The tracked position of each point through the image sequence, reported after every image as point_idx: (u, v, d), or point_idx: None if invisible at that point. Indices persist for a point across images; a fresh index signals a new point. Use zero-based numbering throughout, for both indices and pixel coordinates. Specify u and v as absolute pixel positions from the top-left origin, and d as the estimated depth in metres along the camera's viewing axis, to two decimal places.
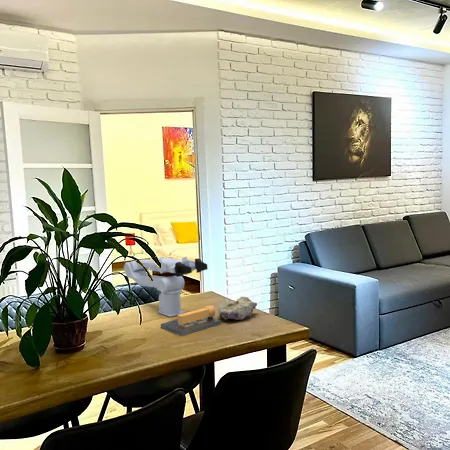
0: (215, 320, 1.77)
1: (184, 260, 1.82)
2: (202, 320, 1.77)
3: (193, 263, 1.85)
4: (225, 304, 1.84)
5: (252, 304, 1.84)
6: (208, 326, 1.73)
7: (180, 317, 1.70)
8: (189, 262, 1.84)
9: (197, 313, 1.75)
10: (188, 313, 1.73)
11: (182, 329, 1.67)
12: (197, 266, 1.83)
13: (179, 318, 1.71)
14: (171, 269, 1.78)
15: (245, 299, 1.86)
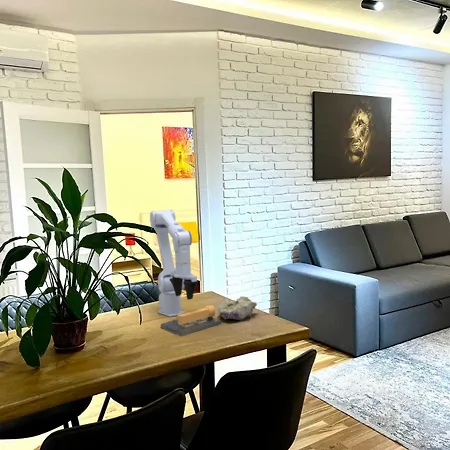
0: (215, 320, 1.77)
1: (176, 276, 1.75)
2: (202, 320, 1.77)
3: None
4: (225, 304, 1.84)
5: (252, 304, 1.84)
6: (208, 326, 1.73)
7: (180, 317, 1.70)
8: None
9: (197, 313, 1.75)
10: (188, 313, 1.73)
11: (182, 329, 1.67)
12: None
13: (179, 318, 1.71)
14: None
15: (245, 299, 1.86)
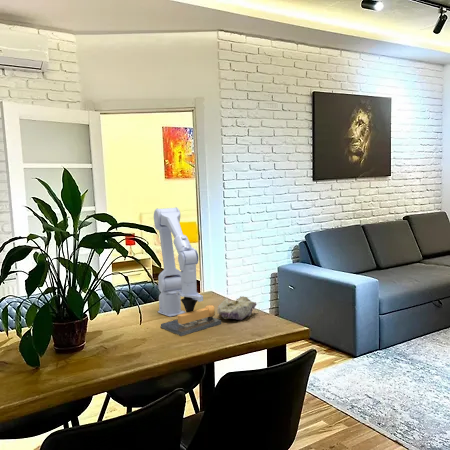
0: (215, 320, 1.77)
1: None
2: (202, 320, 1.77)
3: None
4: (225, 304, 1.84)
5: (251, 304, 1.84)
6: (208, 326, 1.73)
7: (180, 317, 1.70)
8: (188, 296, 1.73)
9: (197, 313, 1.75)
10: (188, 313, 1.73)
11: (182, 329, 1.67)
12: None
13: (179, 318, 1.71)
14: None
15: (244, 299, 1.86)
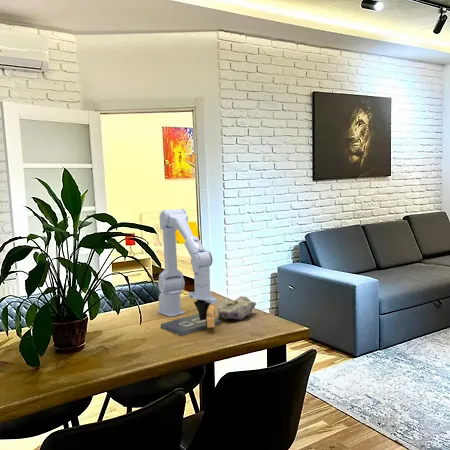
0: (215, 320, 1.77)
1: None
2: (202, 320, 1.77)
3: None
4: (224, 304, 1.84)
5: (251, 304, 1.85)
6: None
7: (212, 320, 1.66)
8: (202, 299, 1.69)
9: (213, 314, 1.73)
10: (210, 315, 1.70)
11: (182, 329, 1.67)
12: None
13: (210, 321, 1.66)
14: None
15: (244, 299, 1.86)
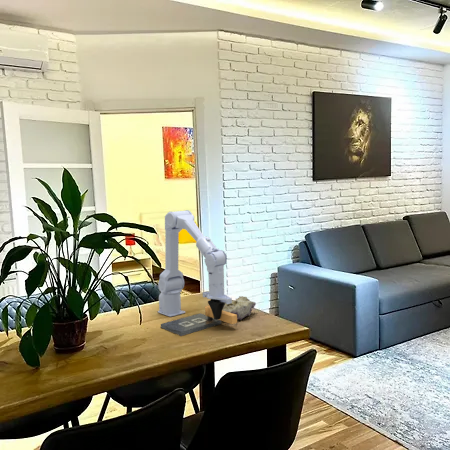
0: (215, 320, 1.77)
1: None
2: (202, 320, 1.77)
3: None
4: None
5: (251, 304, 1.85)
6: (208, 326, 1.73)
7: (235, 316, 1.70)
8: (216, 298, 1.69)
9: None
10: (227, 313, 1.72)
11: (182, 329, 1.67)
12: None
13: (234, 318, 1.69)
14: None
15: (244, 299, 1.86)
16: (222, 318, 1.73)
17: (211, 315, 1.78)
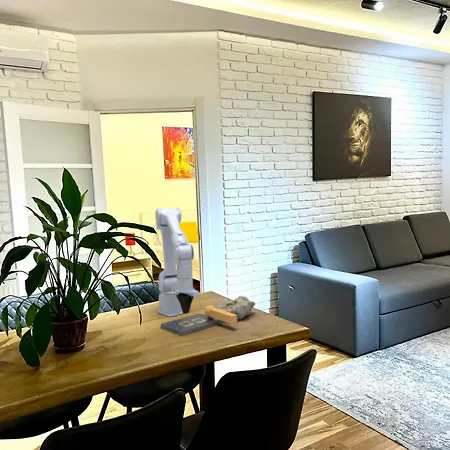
0: (215, 320, 1.77)
1: None
2: (202, 320, 1.77)
3: None
4: (224, 304, 1.84)
5: (250, 303, 1.85)
6: (208, 326, 1.73)
7: (235, 316, 1.70)
8: (184, 292, 1.69)
9: None
10: (227, 313, 1.72)
11: (182, 329, 1.67)
12: None
13: (234, 318, 1.69)
14: None
15: (243, 298, 1.87)
16: (222, 318, 1.73)
17: (211, 315, 1.78)
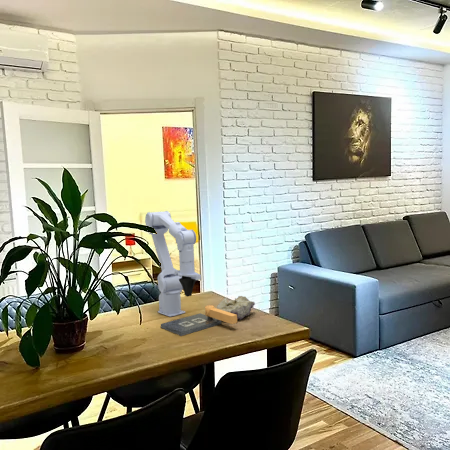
0: (215, 320, 1.77)
1: (181, 275, 1.78)
2: (202, 320, 1.77)
3: None
4: (224, 304, 1.84)
5: (250, 303, 1.85)
6: (208, 326, 1.73)
7: (235, 316, 1.70)
8: (187, 275, 1.77)
9: None
10: (227, 313, 1.72)
11: (182, 329, 1.67)
12: None
13: (234, 318, 1.69)
14: None
15: (243, 298, 1.87)
16: (222, 318, 1.73)
17: (211, 315, 1.78)
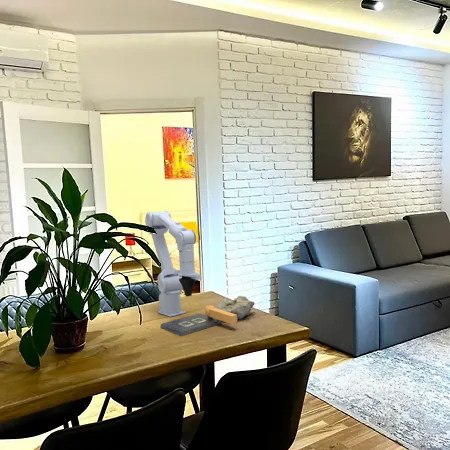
0: (215, 320, 1.77)
1: (181, 275, 1.78)
2: (202, 320, 1.77)
3: None
4: (223, 304, 1.84)
5: (250, 303, 1.85)
6: (208, 326, 1.73)
7: (235, 316, 1.70)
8: (187, 275, 1.77)
9: None
10: (227, 313, 1.72)
11: (182, 329, 1.67)
12: None
13: (234, 318, 1.69)
14: None
15: (243, 298, 1.87)
16: (222, 318, 1.73)
17: (211, 315, 1.78)
